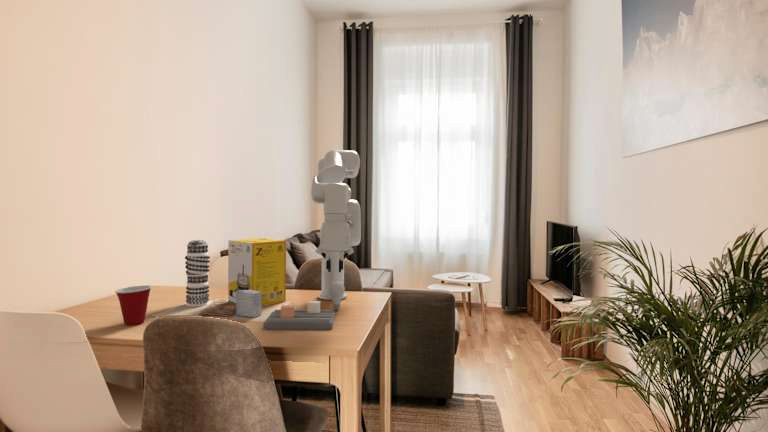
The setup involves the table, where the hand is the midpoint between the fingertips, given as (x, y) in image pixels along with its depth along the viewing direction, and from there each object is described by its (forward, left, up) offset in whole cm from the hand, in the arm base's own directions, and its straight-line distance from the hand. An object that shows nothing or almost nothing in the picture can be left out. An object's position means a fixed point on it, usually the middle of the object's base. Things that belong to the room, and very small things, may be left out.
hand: (334, 271), depth 159 cm
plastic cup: (+4, -66, -17) cm, 68 cm away
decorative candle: (-24, -55, -17) cm, 62 cm away
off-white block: (0, -7, -15) cm, 16 cm away
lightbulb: (-15, 0, -17) cm, 23 cm away
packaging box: (-29, -33, -18) cm, 47 cm away
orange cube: (+7, -15, -15) cm, 22 cm away
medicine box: (-7, -31, -18) cm, 36 cm away
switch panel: (+3, -11, -17) cm, 21 cm away
